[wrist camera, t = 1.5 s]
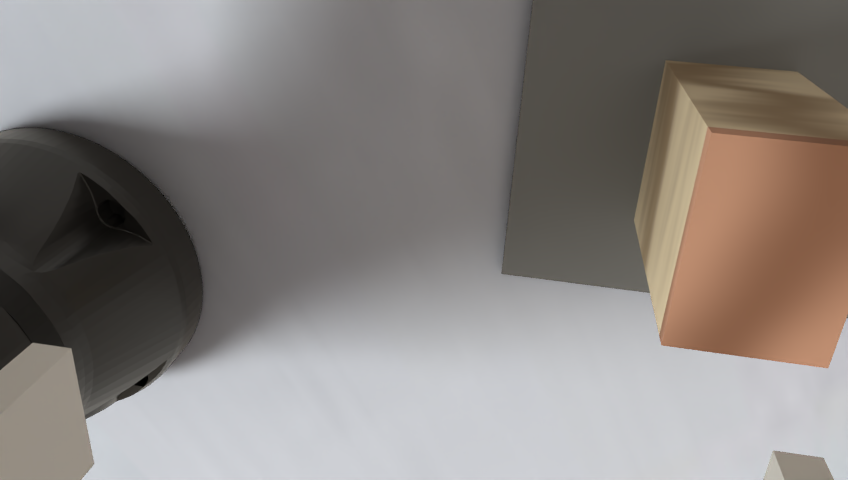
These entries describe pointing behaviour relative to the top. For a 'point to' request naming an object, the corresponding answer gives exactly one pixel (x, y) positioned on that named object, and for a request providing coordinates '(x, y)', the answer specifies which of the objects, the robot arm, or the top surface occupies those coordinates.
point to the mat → (631, 114)
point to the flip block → (746, 213)
